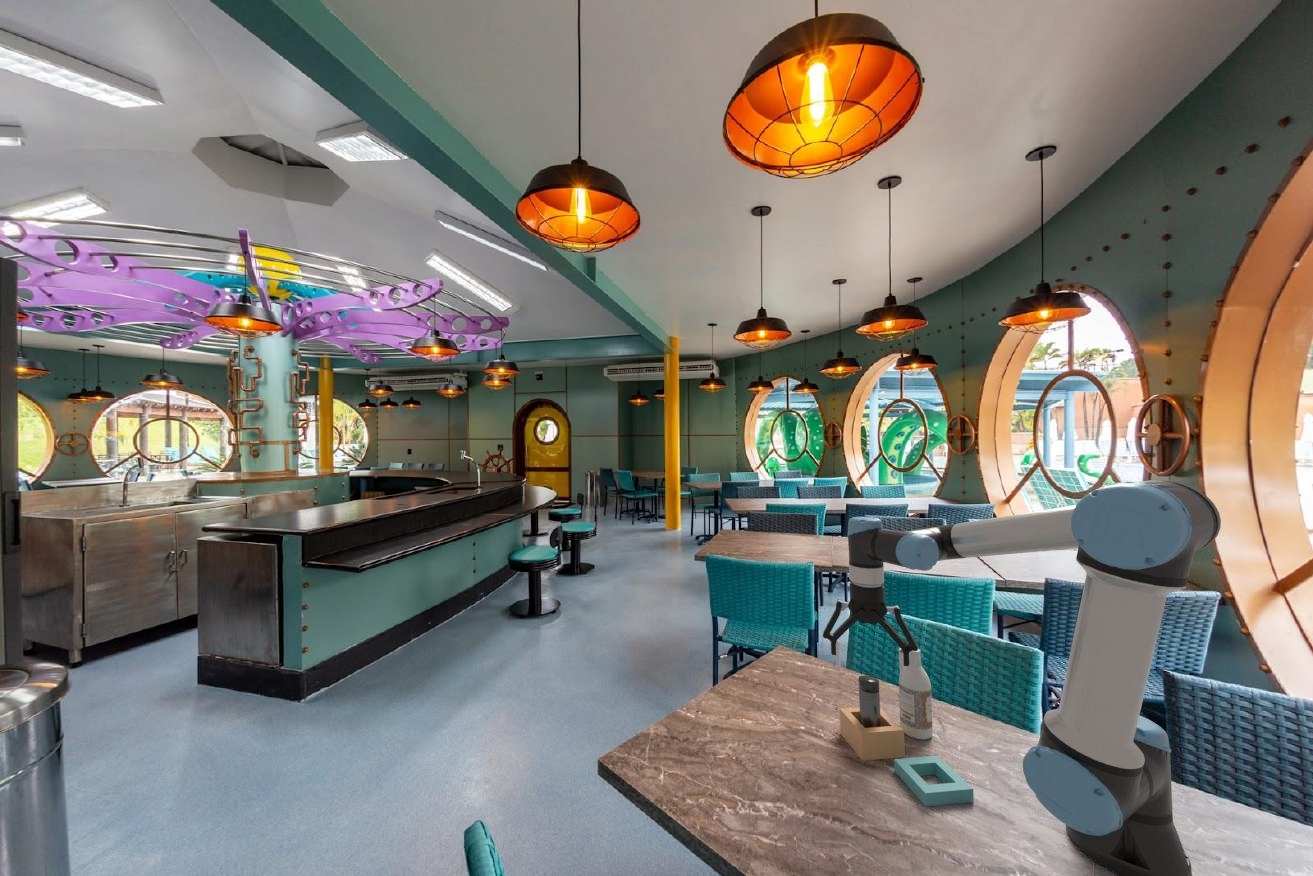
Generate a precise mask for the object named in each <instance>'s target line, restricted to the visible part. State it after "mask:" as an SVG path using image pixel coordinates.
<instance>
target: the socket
mask: <svg viewBox="0 0 1313 876" xmlns="http://www.w3.org/2000/svg"><path fill="white" fill-rule="evenodd" d="M839 722H840V725H839V727H840V730H839V731H840V735H841V736H842V737H843V739H844V740H845V741H846V742H847V744H848V746H850V747H851V749H852V750H853V751H854V752H855V754H857V756H858V757H859V759H861V760H862V761H874V760H884V759H885V760H887V759H888V760H889V759H902V758H905V757H906V751H905V750H906V749H905V747H906V746H905V733H904V730H903V729H902V728H901V727H900V724H898V723H897V722H896V721H895V720H894V719H893V718H892V717H891V716H890V715H889V714H888V713H887V712H886V711H884V709H882V707H880V723H881V727H872V728H864V726H863V725H862V724H861V723H860V706H857V707H847V708H846V707H842V708H839Z"/></svg>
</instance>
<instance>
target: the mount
mask: <svg viewBox="0 0 1313 876" xmlns="http://www.w3.org/2000/svg"><path fill="white" fill-rule="evenodd" d="M893 762H894V763H893V765H894V772H895V774H897V776H898V777H899V778H900V779H901V780H902V781H903V783H905V784H906V786H907V787H908V788H909V789H910V790H911V791H912V793H913V794H915V796H916V797H917V798H918V799H919V801H920V802H921V803H922V804H923V805H924V806H925V807H931V806H932V807H933V806H934V807H935V806H944V805H953V804H954V805H956V804H964V803H965V804H966V803H967V804H968V803H974V802H975V801H974V797H975V796H974V788H973V787H972V786H971V785H970V784H969V783H967V782H966V780H965V779H963V778H962V777H961V776H960V775H959V774H958V773H957V772H956V771H955V770H953V768H951V767H950V765H948V763H946V762H945V761H944V760H943V759H942V758H941V757H940V756H938V755H930V756H920V757H919V756H917V757H906V758H905V757H902V758H893ZM935 775H936V777H938V779H940V781H942V782H943V783H933V784H928V783H927V782H926V781H925V780H924V779H923V778H922V777H923V776H924V777H925V776H935Z"/></svg>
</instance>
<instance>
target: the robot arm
mask: <svg viewBox="0 0 1313 876" xmlns="http://www.w3.org/2000/svg"><path fill="white" fill-rule="evenodd" d="M1221 523H1222V519H1221V515H1220V512H1219V509H1218V508H1217V506H1216V504H1215V503H1214V502H1213V501H1212V500H1211V499H1210V498H1209V497H1208V496H1207V495H1206V494H1205V493H1203V492H1202V491H1200V490H1199V489H1196V488H1194V487H1193V486H1191V485H1187V484H1184V483H1182V482H1178V481H1175V480H1166V479H1165V480H1164V479H1151V480H1144V481H1143V480H1142V481H1129V480H1128V481H1120V482H1115V483H1109V484H1106V485H1104V486H1102V487H1099V488H1097V489H1094V490H1093V491H1091V492H1088V493H1087V494H1085V495H1084V496H1083V497H1082V498H1081V499H1080V500H1079V501H1078V502H1077V503H1076V505H1069V506H1064V507H1056V508H1050V509H1043V510H1037V511H1036V510H1035V511H1030V512H1024V513H1017V514H1012V515H1010V514H1009V515H1005V516H1004V515H1003V516H1000V517H992V518H986V519H980V520H978V519H977V520H973V521H972V520H971V521H966V522H960V523H959V522H958V523H955V524H945V525H937V526H933V527H927V528H919V529H913V530H905V531H903V530H902V531H901V530H894V529H887V528H884V526H883V521H882V520H881V518H877V517H871V516H853V517H851V518H849V519H848V525H847V526H848V527H847V535H846V536H847V542H848V543H847V544H848V562H849V563H848V570H849V571H848V576H849V577H848V578H849V581H850V583H849V601H848V602H847V601H844V600H842V599H841V598H838V599H837V600H836V602H835V609H834V612H833V613H832V614H831V617H830V619H829V620H828V623H827V624H826V626H825V628H824V630H823V633H822V637H823V639H827V640H829V642H830V653H831V655H832V656H835V659H836V660H835V661H836V662H835V663H836V672H841V667H842V666H841V662H842V661H841V640H840V638H841V637H842V636H843V635H844V634H845V632H847V631H848V630H849V629H850V628H851V627H852V626H853V625H854V624H855V623H857V621H858V622H859V623H860V624H870V625H873V626H874V625H877V624H879V626H881V628H882V629H884V630H885V632H886V633H887V634H888V635H889V636H890V638H891V639H892V640H893V641H894V642H895V643H896V645H897V646H898V658H899V659H898V660H899V661H898V662H899V664H898V665H899V676H900V680H901V682H904V666H909V652H910V651H917V650H918V649H919V647H918V644H917V641H916V640H915V638H914V636H913V635H912V633H911V631H910V629H909V627H908V626H907V624H906V622H905V621H904V619H903V616H902V615H901V608H900V606H899V605H898V604H895V605H893V606H887V605H886V599H885V598H886V597H885V586H884V585H883V584H884V583H885V574H884V573H885V572H884V571H885V570H884V569H885V566H884V563H886V564H890V565H894V566H899V567H901V568H902V567H903V568H906V569H909V570H912V571H913V570H918V571H923V572H924V571H925V572H928V571H930V570H932V569H933V567H934V566H936V565H937V563H938V562H941V561H942V562H943V561H948V560H949V561H950V560H957V559H958V560H961V559H967V558H969V559H970V558H979V557H991V556H1001V555H1002V556H1004V555H1016V554H1027V553H1038V552H1051V551H1061V550H1063V551H1065V550H1073V549H1074V550H1075V549H1077V551H1076V557H1075V560H1076V561H1075V562H1077V563H1078V564H1079V565H1080V567H1081V568H1082V569H1083V570H1084V571H1085V573H1086V574H1085V580H1084V584H1083V590H1082V593H1081V594H1082V595H1081V601H1080V605H1079V609H1078V614H1077V619H1076V622H1075V623H1076V624H1075V627H1074V633H1073V638H1072V643H1071V648H1070V653H1069V657H1068V662H1067V667H1066V671H1065V676H1064V681H1063V687H1062V691H1061V697H1060V701H1059V706H1058V708H1056V709H1050V710H1048V711H1046V713H1045V714H1044V717H1043V721H1042V726H1041V730H1040V735H1039V740H1038V743H1037V745H1035V746H1032V747H1030V749H1028V750H1027V752H1026V754H1025V755H1024V756H1023V760H1022V770H1023V771H1022V772H1023V775H1024V778H1025V781H1026V783H1027V785H1028V788H1029V789H1030V790H1031V791H1032V792H1033V793H1034V795H1035V798H1036V799H1037V800H1038V802H1040V804H1041V805H1042V806H1043V807H1044V808H1045V810H1047V811H1048V813H1050V814H1051V815H1052V816H1053V817H1055V818H1056V819H1057V820H1058V821H1060V822H1061V823H1063V824H1064V825H1065V829H1066V833H1067V834H1068V836H1069V839H1070V840H1071V841H1072V842H1073V843H1074V844H1075V846H1076V847H1078V849H1079V848H1080V849H1079V850H1081V852H1083V853H1084V855H1086V856H1087V855H1088V856H1087V857H1088V858H1090V859H1091V858H1092V859H1091V860H1093V861H1094V862H1095V861H1096V863H1097V862H1098V863H1099V865H1100V866H1101V865H1103V866H1104V868H1105V869H1106V868H1107V869H1106V870H1108V871H1110V872H1111V873H1113V874H1115V875H1117V876H1119V875H1120V876H1193V873H1192V863H1191V860H1190V858H1189V855H1188V854H1187V851H1186V850H1185V849H1184V847H1183V844H1182V842H1181V839H1180V836H1179V833H1178V830H1177V828H1176V825H1175V824H1174V817H1173V793H1172V791H1173V790H1172V771H1171V769H1172V768H1171V754H1172V749H1171V748H1170V741H1169V735H1168V734H1167V732H1166V730H1164V729H1163V728H1162V727H1161V726H1160V725H1158V724H1157V723H1155V722H1153V721H1152V720H1150V719H1149V718H1146V717H1144V716H1142V715H1140V713H1141V710H1142V705H1143V701H1144V696H1145V692H1146V688H1147V684H1148V680H1149V677H1150V676H1149V675H1150V672H1151V671H1150V670H1151V667H1152V664H1153V663H1152V662H1153V658H1154V654H1155V650H1156V644H1157V642H1158V636H1159V633H1160V628H1161V623H1162V620H1163V615H1164V612H1165V611H1164V610H1165V607H1166V602H1167V597H1168V595H1169V594H1171V593H1174V592H1178V591H1181V590H1184V589H1186V588H1187V585H1188V581H1189V577H1190V572H1191V569H1192V565H1193V561H1194V556H1195V553H1196V552H1199V551H1202V550H1204V549H1205V548H1207V547H1208V546H1209V545H1211V544H1212V543H1213V542H1214V541H1215V540H1216V538H1217V536H1218V535H1219V533H1220V530H1221ZM847 608H848V610H849V611H850V615H849V616H848V617H847V619H845V621H843V622H842V624H840V626H839V627H838V628H836V630H835V631H834V632H833V633H832V630H833V628H834V626H835V624H836V622H837V621H838V619H839V617H840V615H841V613H842V612H844V611H845V610H846V609H847ZM887 613H890V615H891V617H894V618H895V620H896V623H897V625H898V626H899V627H900V630H901V632H902V633H903V636H904V638H905V639H906V641H907V643H906V641H905V640H904V639H903V638H902V636H901V635H899V633H898V632H897V631H896V630H895V629H894V627H892V625H891V624H890V623H889V622H888V621H887V619H886V617H885V616H886V615H887ZM1098 863H1097V864H1098ZM1103 866H1102V867H1103Z"/></svg>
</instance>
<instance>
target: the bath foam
mask: <svg viewBox="0 0 1313 876" xmlns="http://www.w3.org/2000/svg"><path fill="white" fill-rule="evenodd" d="M921 658H922V655H921V649H919V648H918V650H917V651H910V652H909V666H904V682H901V680H900V675H899V676H898V702H899V723H900V724H899V726H900V727H901V728H902V729H903V730H904V735H907V736H908V737H910V738H913V739H915V740H916V739H917V740H929V739H930V738H932V736H933V734H934V733H933V730H934V729H933V705H932V701H933V700H932V685H931V680H930V678H929V676H928V674H927V672H926V670H925V669H924V667H923V666H922V661H921Z"/></svg>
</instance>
